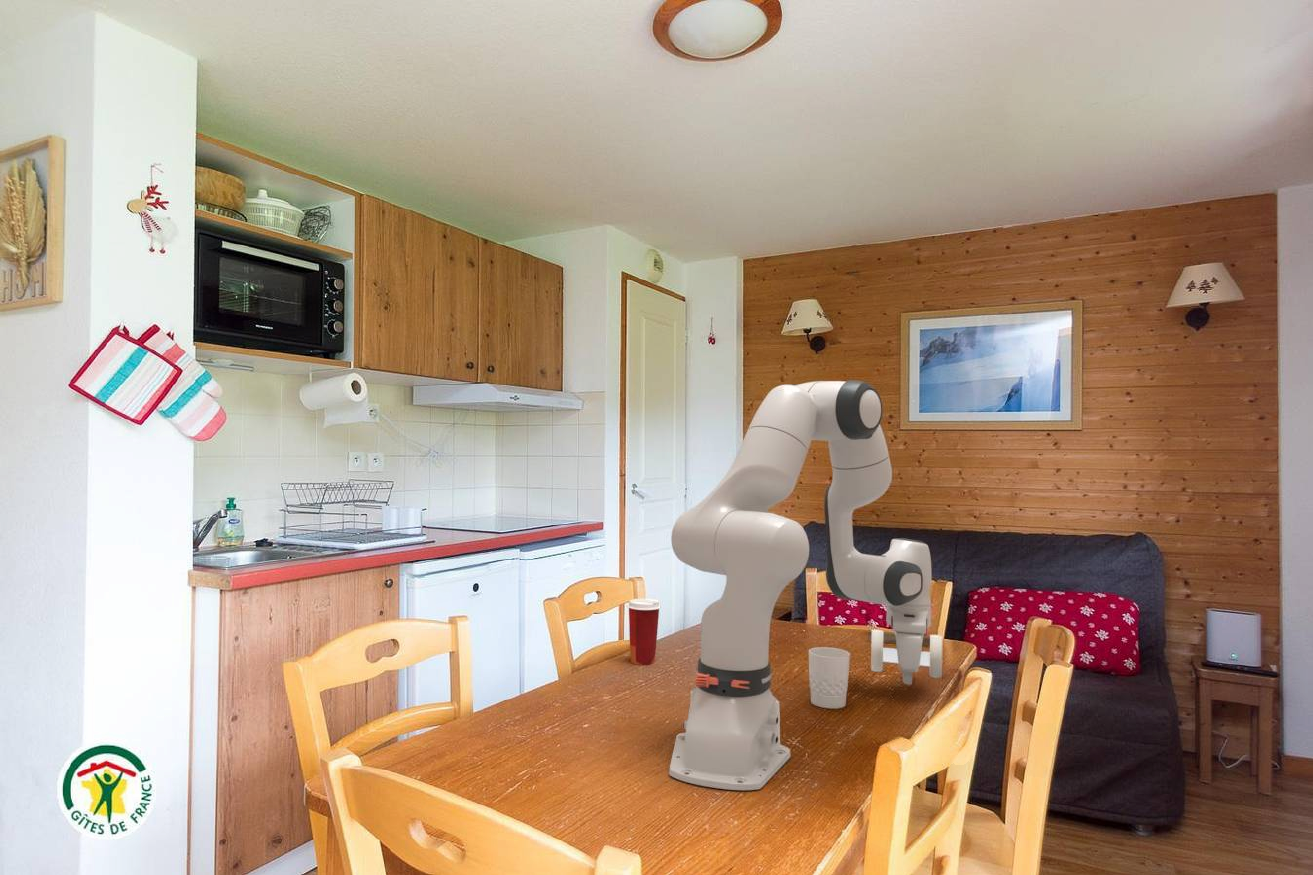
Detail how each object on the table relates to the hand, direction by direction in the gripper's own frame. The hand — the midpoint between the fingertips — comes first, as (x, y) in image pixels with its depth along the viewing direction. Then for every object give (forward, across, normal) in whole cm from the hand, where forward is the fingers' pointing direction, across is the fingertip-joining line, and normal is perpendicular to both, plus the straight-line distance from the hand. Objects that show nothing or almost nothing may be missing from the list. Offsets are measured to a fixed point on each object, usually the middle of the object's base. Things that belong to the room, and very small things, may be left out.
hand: (907, 682), depth 157 cm
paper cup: (+2, +1, -58) cm, 58 cm away
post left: (+2, -13, -6) cm, 15 cm away
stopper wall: (+2, -42, 0) cm, 42 cm away
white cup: (+2, +15, -15) cm, 21 cm away
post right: (+2, -13, +6) cm, 15 cm away
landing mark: (+2, -28, 0) cm, 28 cm away
